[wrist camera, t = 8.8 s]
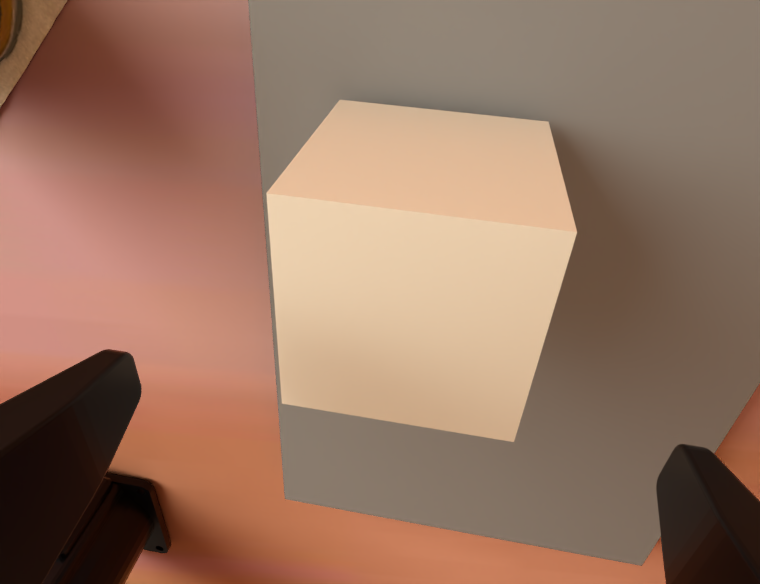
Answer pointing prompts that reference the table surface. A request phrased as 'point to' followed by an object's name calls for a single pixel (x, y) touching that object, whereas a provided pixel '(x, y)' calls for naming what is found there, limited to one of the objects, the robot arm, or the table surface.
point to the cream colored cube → (418, 265)
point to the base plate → (587, 259)
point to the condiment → (22, 36)
